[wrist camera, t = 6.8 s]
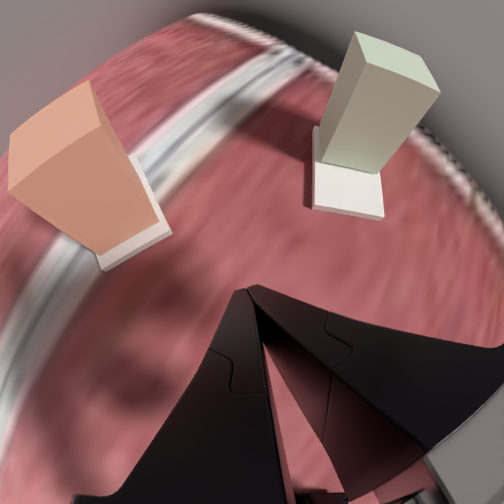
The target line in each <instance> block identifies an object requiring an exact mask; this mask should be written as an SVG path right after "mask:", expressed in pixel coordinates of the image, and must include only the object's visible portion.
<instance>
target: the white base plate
mask: <svg viewBox="0 0 504 504" xmlns="http://www.w3.org/2000/svg"><path fill="white" fill-rule="evenodd" d="M312 209H313V210H319V211H325V212H331V213H337V214H343V215H349V216H354V217H360V218H365V219H370V220H376V221H381V220H382V219H383V218H384V207H383V197H382V187H381V179H380V172H379V173H378V174H374V173H370V172H366V171H362V170H358V169H353V168H349V167H344V166H339V165H335V164H330V163H325V162H321V148H320V127H319V126H314V128H313V131H312Z"/></svg>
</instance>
